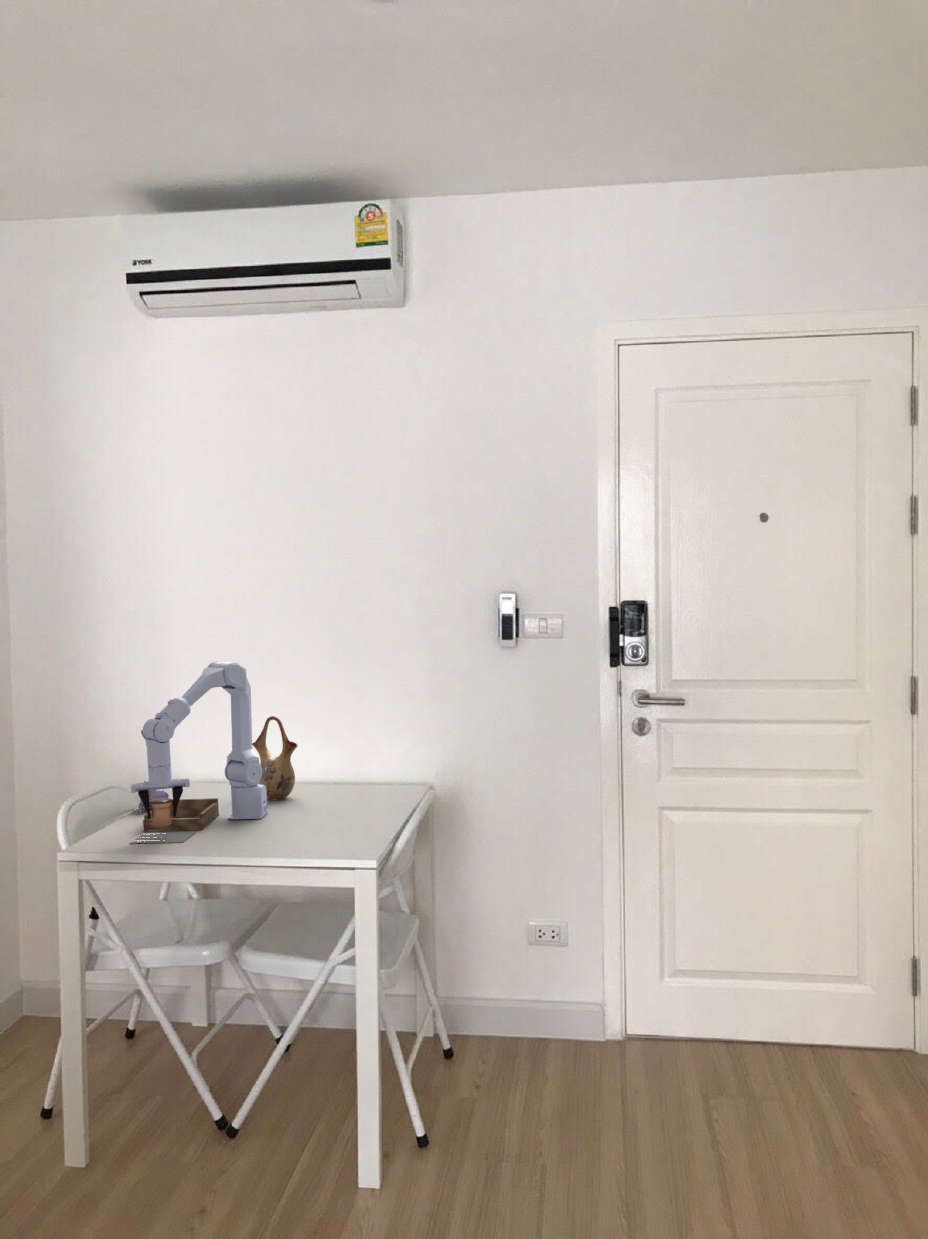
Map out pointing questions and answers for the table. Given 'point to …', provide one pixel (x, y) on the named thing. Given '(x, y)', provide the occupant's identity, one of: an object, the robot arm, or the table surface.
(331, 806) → the table surface
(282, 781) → the ceramic vessel
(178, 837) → the slate mat
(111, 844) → the table surface
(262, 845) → the table surface
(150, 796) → the flower
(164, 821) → the terracotta pot
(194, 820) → the frame
